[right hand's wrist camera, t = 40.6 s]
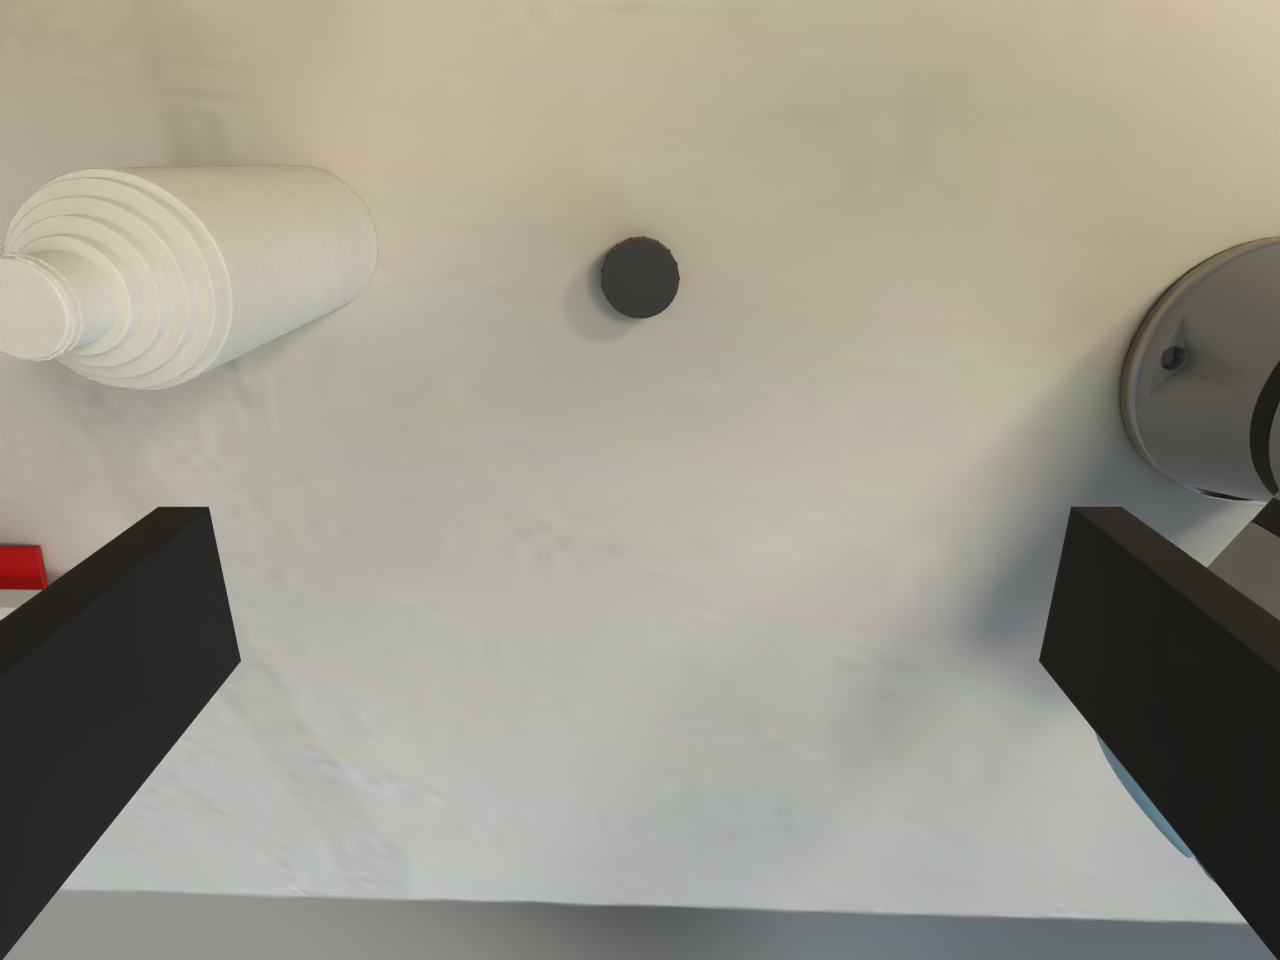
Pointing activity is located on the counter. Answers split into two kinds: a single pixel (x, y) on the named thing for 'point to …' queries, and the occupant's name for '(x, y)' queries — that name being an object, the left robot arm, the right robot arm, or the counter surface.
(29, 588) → the toy
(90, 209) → the bottle
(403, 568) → the counter surface
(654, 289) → the cap
